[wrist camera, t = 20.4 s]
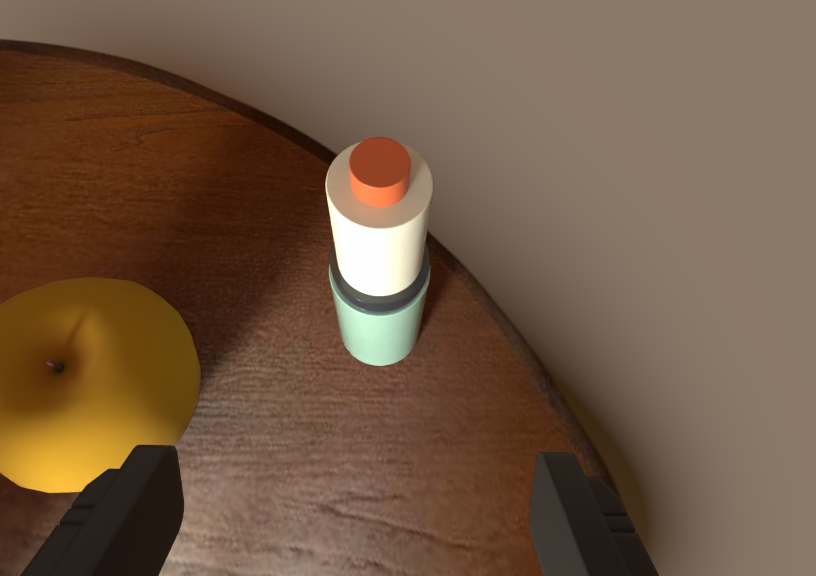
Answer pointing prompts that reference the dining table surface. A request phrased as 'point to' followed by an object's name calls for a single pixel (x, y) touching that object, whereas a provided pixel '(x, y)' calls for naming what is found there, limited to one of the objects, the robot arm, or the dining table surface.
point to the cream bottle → (379, 214)
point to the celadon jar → (379, 316)
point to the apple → (90, 380)
